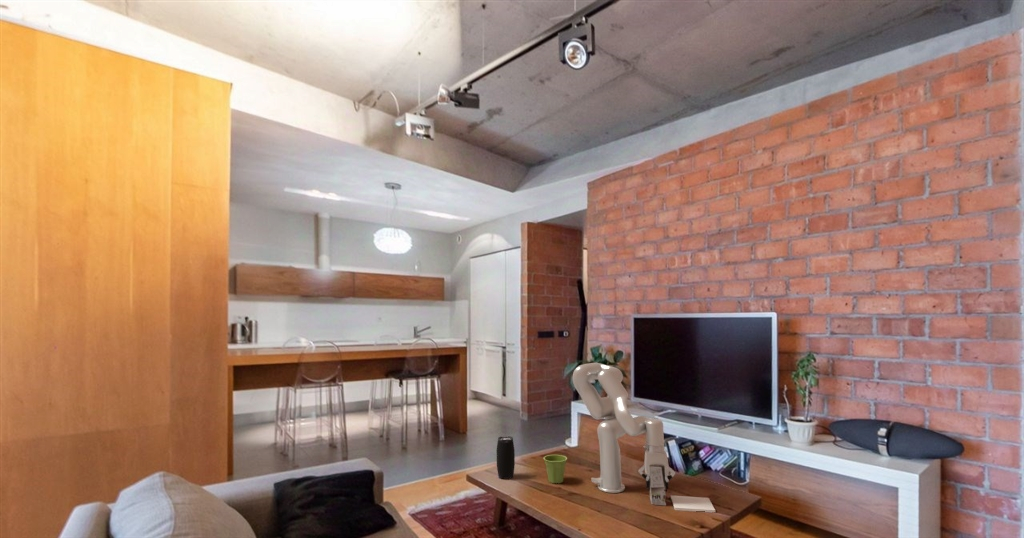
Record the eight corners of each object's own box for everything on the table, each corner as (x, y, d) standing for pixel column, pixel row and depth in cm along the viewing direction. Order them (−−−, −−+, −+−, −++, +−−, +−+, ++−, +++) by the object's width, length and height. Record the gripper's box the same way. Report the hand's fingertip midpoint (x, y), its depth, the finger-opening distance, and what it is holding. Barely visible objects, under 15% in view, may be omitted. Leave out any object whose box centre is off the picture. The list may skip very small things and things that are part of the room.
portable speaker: (493, 476, 235) (493, 437, 237) (509, 472, 240) (508, 434, 242) (502, 481, 228) (502, 441, 230) (518, 477, 233) (517, 438, 235)
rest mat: (674, 510, 192) (674, 507, 192) (670, 497, 204) (670, 495, 205) (715, 512, 189) (715, 510, 189) (708, 500, 201) (708, 497, 201)
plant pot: (571, 479, 229) (571, 456, 230) (561, 487, 219) (560, 463, 220) (550, 475, 235) (550, 453, 236) (539, 482, 225) (539, 459, 226)
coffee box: (666, 505, 196) (665, 466, 198) (651, 504, 197) (649, 466, 199) (664, 497, 205) (662, 460, 207) (649, 496, 206) (647, 459, 208)
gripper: (635, 449, 202) (637, 491, 200) (677, 451, 198) (679, 494, 196) (634, 444, 209) (636, 485, 207) (674, 446, 205) (676, 487, 204)
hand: (657, 489), depth 202 cm, fingers closed on coffee box, 6 cm apart
